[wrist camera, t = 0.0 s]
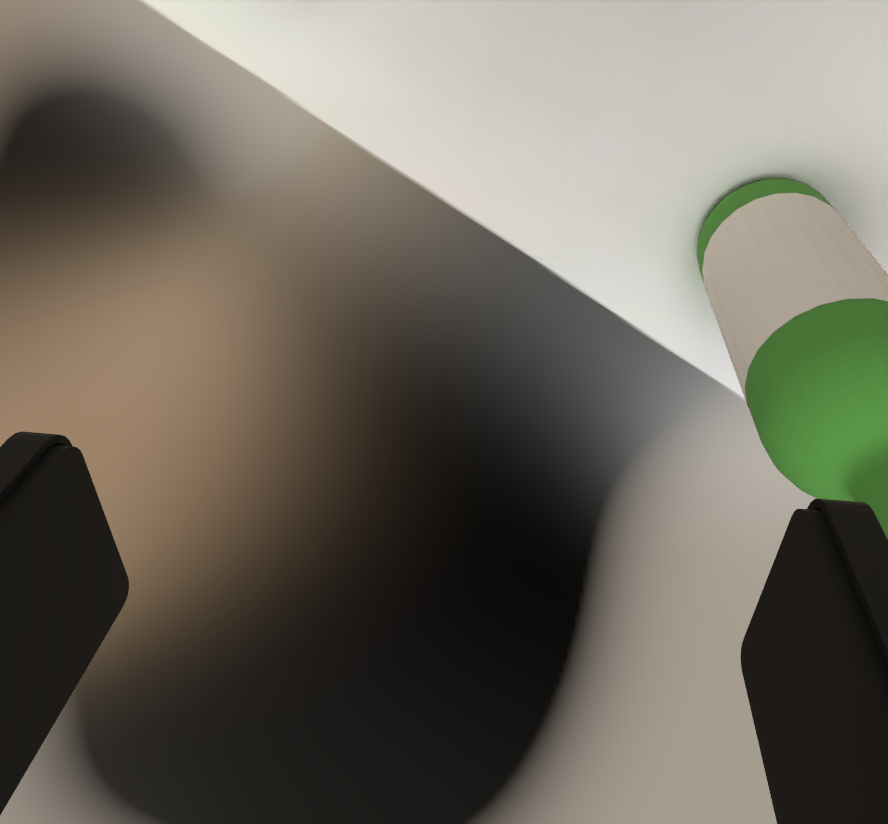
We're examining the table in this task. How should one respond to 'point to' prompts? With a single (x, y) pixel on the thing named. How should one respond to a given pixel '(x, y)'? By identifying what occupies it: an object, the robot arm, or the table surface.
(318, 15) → the table surface
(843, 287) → the wine bottle
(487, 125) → the table surface
